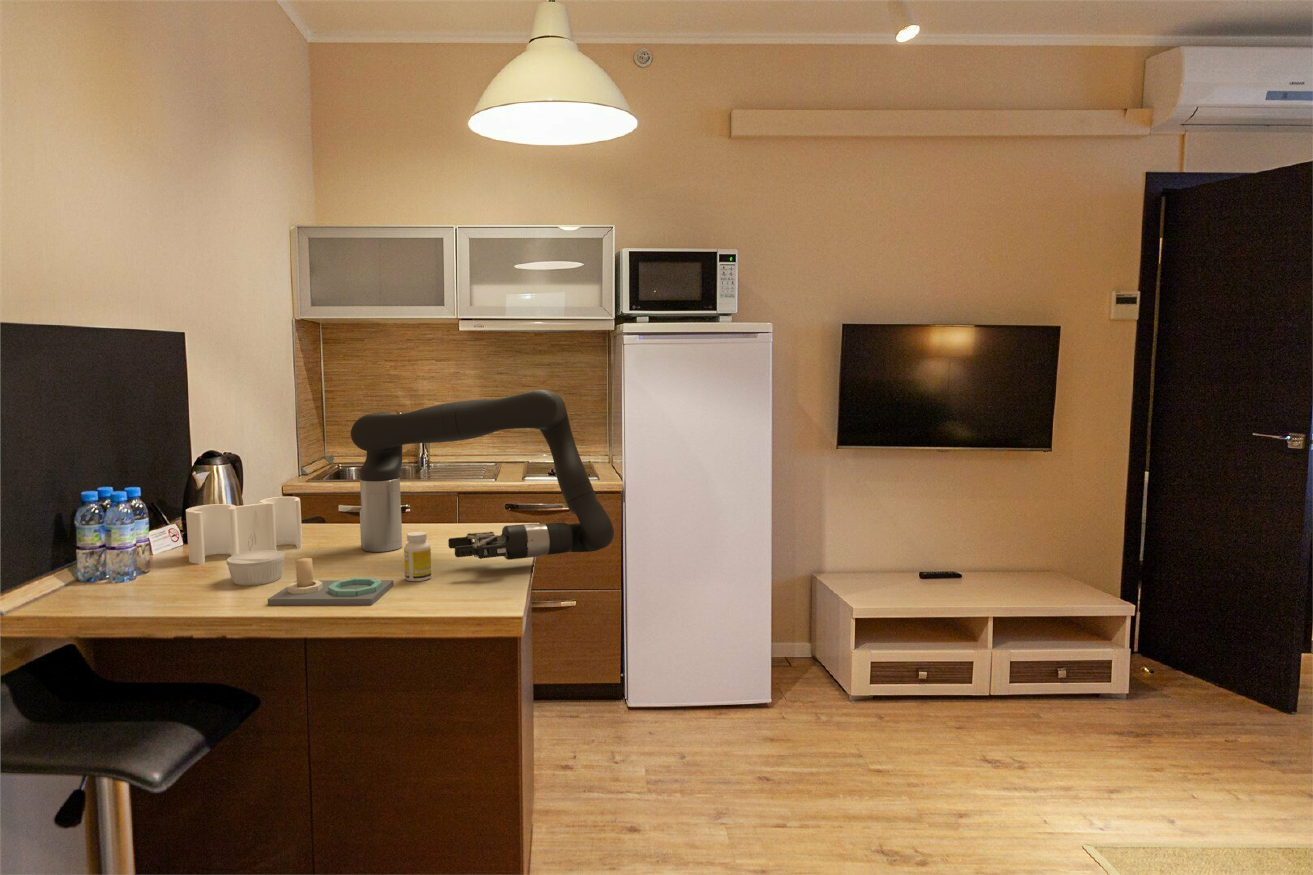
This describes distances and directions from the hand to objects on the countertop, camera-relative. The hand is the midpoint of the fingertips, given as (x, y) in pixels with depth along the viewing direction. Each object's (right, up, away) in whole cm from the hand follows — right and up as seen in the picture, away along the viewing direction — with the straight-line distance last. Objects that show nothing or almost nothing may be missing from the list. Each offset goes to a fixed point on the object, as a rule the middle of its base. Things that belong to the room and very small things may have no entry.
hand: (451, 547), depth 182 cm
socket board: (-20, -8, -14) cm, 26 cm away
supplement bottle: (-7, -7, -2) cm, 10 cm away
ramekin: (-41, -7, -2) cm, 41 cm away
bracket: (-55, -4, +22) cm, 59 cm away
